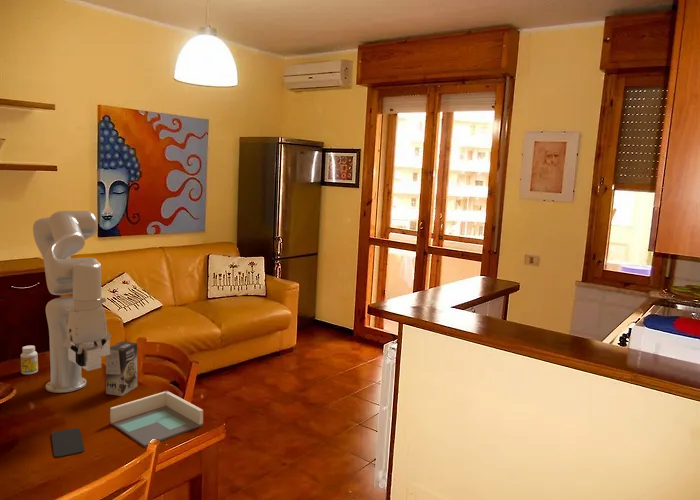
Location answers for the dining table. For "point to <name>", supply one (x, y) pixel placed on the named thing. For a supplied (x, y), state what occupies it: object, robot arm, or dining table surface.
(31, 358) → the supplement bottle
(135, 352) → the coffee box
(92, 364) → the aluminium bracket
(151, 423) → the corner arena
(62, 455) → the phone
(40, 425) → the dining table surface
